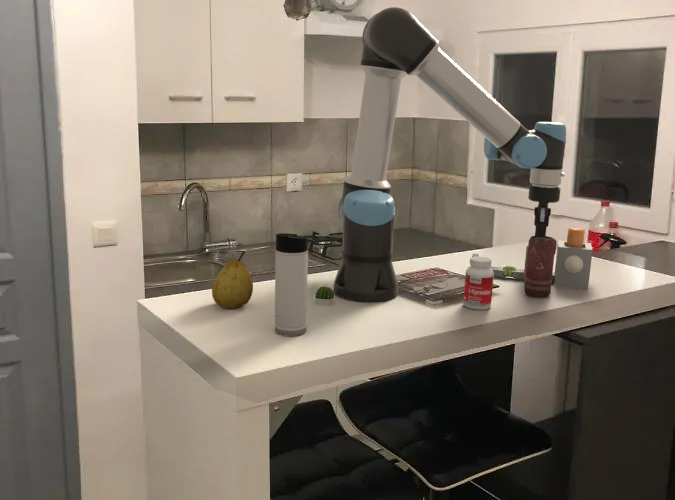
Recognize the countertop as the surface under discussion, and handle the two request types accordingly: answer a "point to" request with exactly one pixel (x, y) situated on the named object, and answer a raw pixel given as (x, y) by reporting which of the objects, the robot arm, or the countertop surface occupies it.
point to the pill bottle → (478, 284)
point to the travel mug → (291, 284)
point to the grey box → (573, 265)
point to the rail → (517, 274)
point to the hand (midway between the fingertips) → (536, 274)
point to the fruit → (232, 285)
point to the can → (539, 266)
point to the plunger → (575, 237)
